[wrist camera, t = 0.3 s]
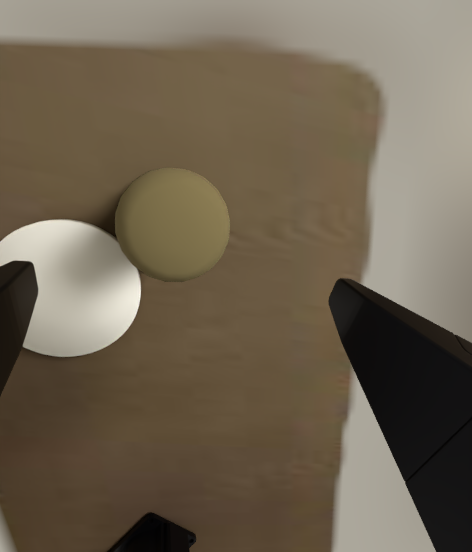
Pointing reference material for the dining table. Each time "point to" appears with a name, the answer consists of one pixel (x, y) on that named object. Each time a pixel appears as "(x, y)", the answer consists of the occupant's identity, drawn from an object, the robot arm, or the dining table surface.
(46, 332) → the coaster
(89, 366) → the dining table surface
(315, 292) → the dining table surface
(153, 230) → the cork
